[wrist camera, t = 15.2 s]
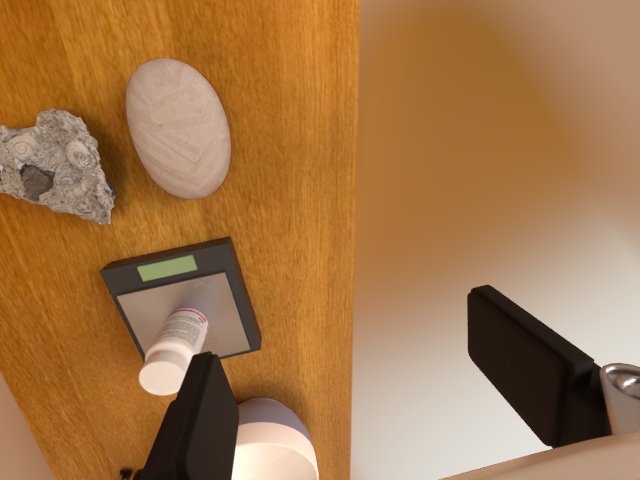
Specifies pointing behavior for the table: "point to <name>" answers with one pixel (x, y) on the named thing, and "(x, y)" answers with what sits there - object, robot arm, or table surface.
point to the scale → (179, 267)
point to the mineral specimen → (56, 167)
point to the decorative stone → (178, 128)
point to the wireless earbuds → (127, 475)
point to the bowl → (272, 444)
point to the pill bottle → (173, 351)
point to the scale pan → (196, 293)
